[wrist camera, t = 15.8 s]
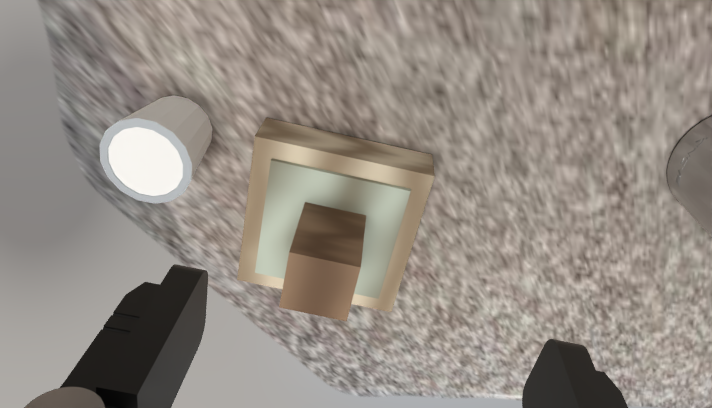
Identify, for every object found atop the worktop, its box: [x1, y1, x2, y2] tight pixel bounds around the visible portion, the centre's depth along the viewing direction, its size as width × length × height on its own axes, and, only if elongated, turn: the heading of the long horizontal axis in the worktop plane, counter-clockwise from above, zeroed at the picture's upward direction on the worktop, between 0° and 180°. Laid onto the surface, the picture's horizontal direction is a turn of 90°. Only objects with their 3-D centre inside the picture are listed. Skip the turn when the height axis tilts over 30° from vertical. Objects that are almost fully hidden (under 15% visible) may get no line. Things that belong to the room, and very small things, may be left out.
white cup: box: [100, 95, 212, 204], centre depth 42 cm, size 7×7×7 cm
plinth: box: [237, 118, 435, 312], centre depth 46 cm, size 14×14×4 cm
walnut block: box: [279, 202, 366, 321], centre depth 41 cm, size 5×5×7 cm
